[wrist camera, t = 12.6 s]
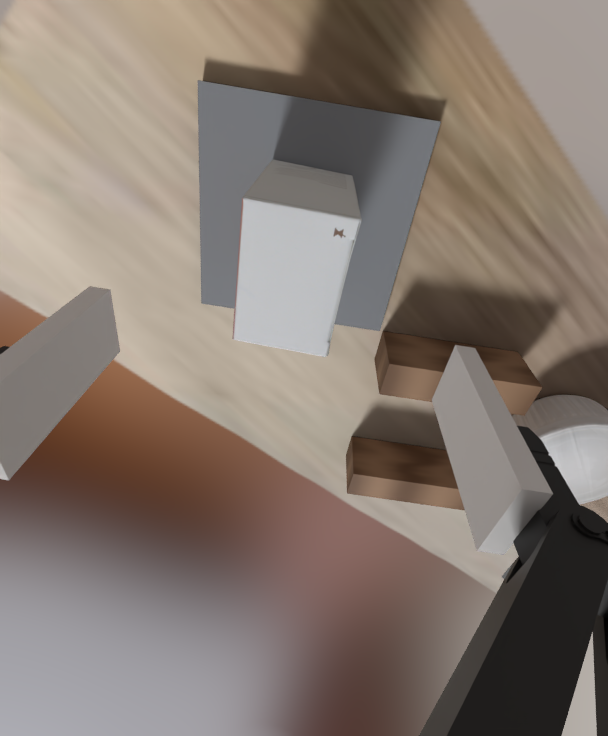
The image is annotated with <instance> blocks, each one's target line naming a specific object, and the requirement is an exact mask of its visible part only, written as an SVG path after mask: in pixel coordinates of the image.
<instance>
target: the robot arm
mask: <svg viewBox="0 0 608 736" xmlns="http://www.w3.org/2000/svg"><path fill="white" fill-rule="evenodd" d="M119 352H120V348H119V341H118V335H117V329H116V322H115V316H114V310H113V304H112V297H111V291H110V290H109V289H103V288H97V287H91V286H90V287H88V288H87V289H86V290H84V291H83V292H82V293H80V294H79V295H78V296H76V297H75V298H74V299H73V300H71V301H70V302H69V303H67V304H66V305H65V306H63V307H62V308H61V309H59V310H58V311H57V312H55V313H54V314H53V315H52V316H50V317H49V318H48V319H46V320H45V321H44V322H42V323H41V324H40V325H38V326H37V327H36V328H34V329H33V330H32V331H31V332H29V333H28V334H27V335H25V336H24V337H23V338H21V339H20V340H19V341H17V342H16V343H15V344H14V345H12V346H11V347H6V346H3V347H1V348H0V479H4V480H9V479H10V478H11V477H12V476H13V475H14V474H15V472H16V471H17V470H18V469H19V468H20V467H21V466H22V464H23V463H24V462H25V461H26V460H27V459H28V457H29V456H30V455H31V454H32V453H33V451H34V450H35V449H36V448H37V447H38V445H40V443H41V442H42V441H43V440H44V439H45V438H46V436H47V435H48V434H49V433H50V432H51V431H52V430H53V428H54V427H55V426H56V425H57V424H58V423H59V421H60V420H61V419H62V418H63V417H64V416H65V414H66V413H67V412H68V411H69V410H70V409H71V407H72V406H73V405H74V404H75V403H76V401H78V399H79V398H80V397H81V396H82V395H83V394H84V392H85V391H86V390H87V389H88V388H89V387H90V385H91V384H92V383H93V382H94V381H95V379H96V378H97V377H98V376H99V375H100V374H101V373H102V372H103V370H104V369H105V368H106V367H107V366H108V365H109V363H110V362H111V361H112V360H113V359H114V358H115V356H116V355H117V354H118V353H119ZM432 403H433V406H434V409H435V413H436V416H437V419H438V423H439V426H440V429H441V433H442V436H443V439H444V443H445V446H446V449H447V453H448V456H449V459H450V463H451V466H452V469H453V473H454V476H455V479H456V483H457V486H458V489H459V493H460V496H461V499H462V503H463V506H464V509H465V512H466V516H467V519H468V522H469V526H470V529H471V532H472V536H473V539H474V542H475V546H476V549H477V551H481V552H488V553H494V554H501V555H504V554H505V553H506V552H507V550H508V549H509V548H510V547H511V545H512V544H513V543H514V545H515V547H516V550H517V553H518V555H519V557H518V558H517V559H516V560H515V562H514V563H513V564H512V565H511V566H510V567H509V569H508V570H507V571H506V572H505V573H504V575H503V576H502V577H503V578H504V581H503V583H502V585H501V587H500V589H499V590H498V592H497V594H496V596H495V598H494V600H493V601H492V603H491V605H490V607H489V609H488V610H487V612H486V614H485V616H484V618H483V620H482V621H481V623H480V625H479V627H478V629H477V631H476V633H475V634H474V636H473V638H472V640H471V642H470V643H469V645H468V647H467V649H466V651H465V653H464V655H463V656H462V658H461V660H460V662H459V664H458V666H457V667H456V669H455V671H454V673H453V675H452V677H451V678H450V680H449V682H448V684H447V686H446V687H445V690H444V691H443V693H442V695H441V697H440V699H439V700H438V702H437V704H436V706H435V708H434V709H433V711H432V713H431V715H430V717H429V719H428V720H427V722H426V724H425V726H424V728H423V730H422V731H421V733H420V735H419V736H561V735H562V731H563V728H564V725H565V721H566V718H567V715H568V711H569V708H570V705H571V701H572V698H573V694H574V691H575V688H576V684H577V681H578V678H579V674H580V671H581V668H582V664H583V661H584V657H585V654H586V651H587V648H588V644H589V641H590V637H591V634H592V631H593V647H594V673H595V695H596V696H595V697H596V720H597V736H608V523H607V522H606V521H605V520H604V519H603V518H602V517H600V516H599V515H598V514H596V513H595V512H594V511H592V510H590V509H588V508H586V507H584V506H580V505H579V503H578V502H577V500H576V498H575V497H574V495H573V493H572V492H571V490H570V488H569V486H568V485H567V483H566V481H565V480H564V478H563V476H562V474H561V473H560V471H559V469H558V468H557V467H556V466H555V462H554V461H553V459H552V457H551V456H549V452H548V450H547V449H546V447H545V445H544V444H543V442H542V440H541V439H540V438H539V437H538V436H537V435H536V434H535V433H534V432H533V431H532V430H531V429H529V428H528V427H523V426H517V425H516V423H515V422H514V420H513V418H512V416H511V414H510V412H509V410H508V408H507V407H506V405H505V403H504V401H503V399H502V397H501V395H500V394H499V392H498V390H497V388H496V386H495V384H494V382H493V380H492V379H491V377H490V375H489V373H488V371H487V369H486V367H485V365H484V364H483V362H482V360H481V358H480V356H479V354H478V352H477V351H476V349H475V348H472V347H465V346H459V345H455V347H454V349H453V352H452V354H451V356H450V359H449V361H448V363H447V366H446V368H445V370H444V373H443V375H442V377H441V380H440V382H439V384H438V387H437V389H436V391H435V394H434V396H433V398H432Z"/></svg>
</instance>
